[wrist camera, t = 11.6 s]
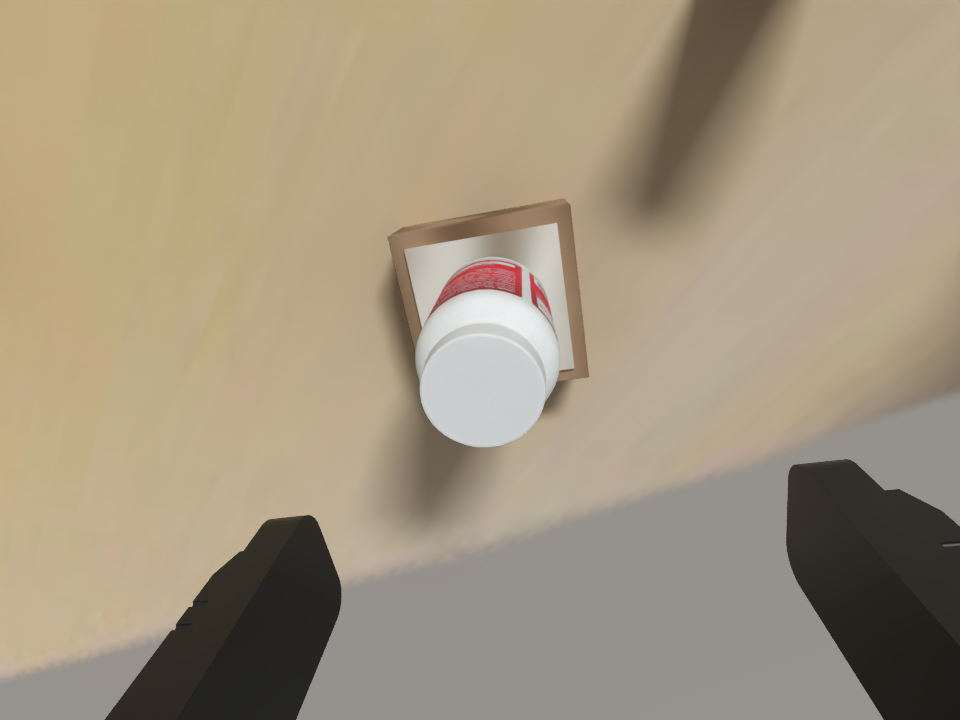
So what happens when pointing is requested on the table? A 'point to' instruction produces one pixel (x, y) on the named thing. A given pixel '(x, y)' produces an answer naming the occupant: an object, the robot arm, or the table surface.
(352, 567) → the table surface
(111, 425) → the table surface
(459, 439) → the pill bottle
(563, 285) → the base
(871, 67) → the table surface
